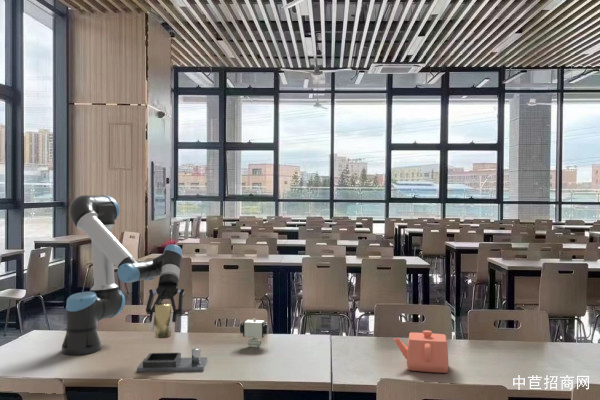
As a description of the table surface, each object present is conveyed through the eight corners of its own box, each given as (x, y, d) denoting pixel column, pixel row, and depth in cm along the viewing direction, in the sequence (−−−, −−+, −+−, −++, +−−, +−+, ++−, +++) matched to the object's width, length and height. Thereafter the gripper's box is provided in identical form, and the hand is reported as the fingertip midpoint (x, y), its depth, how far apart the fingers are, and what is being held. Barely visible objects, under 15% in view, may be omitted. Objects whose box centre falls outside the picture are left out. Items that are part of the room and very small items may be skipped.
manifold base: (136, 372, 195) (137, 354, 195) (144, 362, 207) (144, 345, 207) (203, 371, 197) (203, 353, 197) (207, 361, 209) (207, 344, 209)
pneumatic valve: (266, 348, 226) (266, 320, 226) (239, 347, 228) (239, 319, 228) (269, 345, 231) (269, 317, 231) (243, 344, 233) (243, 316, 233)
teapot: (446, 360, 210) (447, 325, 210) (449, 379, 188) (449, 339, 188) (395, 357, 214) (395, 322, 214) (392, 374, 193) (392, 336, 193)
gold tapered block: (153, 338, 198) (153, 306, 198) (156, 334, 204) (156, 303, 204) (169, 338, 199) (169, 306, 199) (172, 334, 205) (172, 302, 205)
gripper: (194, 283, 217) (188, 334, 201) (146, 284, 216) (136, 335, 200) (192, 272, 212) (186, 323, 196) (143, 272, 211) (133, 324, 195)
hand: (161, 329), depth 198 cm, fingers closed on gold tapered block, 6 cm apart
